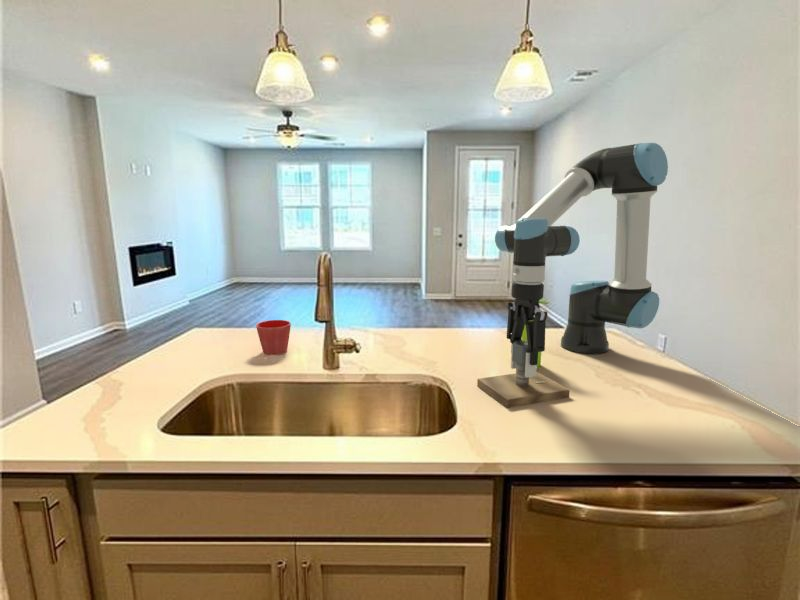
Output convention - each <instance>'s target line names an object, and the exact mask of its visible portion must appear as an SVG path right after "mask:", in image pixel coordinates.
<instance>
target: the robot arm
mask: <svg viewBox="0 0 800 600" xmlns="http://www.w3.org/2000/svg"><path fill="white" fill-rule="evenodd" d="M668 163H669V162H668V158H667V154H666V151H665V150H664V149H663V147H662V146H661V145H660V144H658V143H656V142H639V143H635V144H634V143H633V144H628V145H622V146H615V147H607V148H602V149H599V150H597V151H595V152H593V153H591V154H590V155H589V154H588V155H587V156H586V157H584V158H583V159H582V160H579V162H577V163H576V164H574V165H573V166H572V167H570V169H568V171H566V173H565V175H564V178H563V179H562V181H560V182H559V183H558V184H557V185H556V186H555V187H554V188H553V189H551V190H550V191H549V192H548V193H547V194H545V196H543V197H542V198H541V199H540V200H539V201H538V202H537V203H536V204H534V205H533V206H532V207H531V208H530V209H529V210H528V211H526V213H524V215H522V216H521V217H520V218H519V219H516V221H515V222H514V223H513V224H506V225H502V226H499V228H498V229H497V230H496V233H495V235H494V236H495V237H494V243H495V246H496V248H497V249H498V250H500V251H501V252H506V253H510V254H513V266H512V280H513V281H514V282H513V283H512V284H511V297H512V298H513V299H515V300H514V301H511V302H510V301H508V302H507V310H508V313H507V327H506V339H507V340H509V342H510V343H511V350H510V352H511V353H510V354H511V356H510V369H511V370H516V367H517V363H516V362H513V361H512V352H513V343H514V342H515V341H522V334H523V330H524V326H525V325H526V332H527V341H528V350H526V363H525V377H526V378H527V377H535V376H536V372H537V368H536V367H537V362H538V352H541V353H542V352H545V351H546V322H547V318H548V312H547V311H543V310H541V306H540V303H539V300H542V299H543V298H544V291H545V290H544V288H545V285H544V284H543V282H544V281H545V279H546V277H545V275H546V258H547V257H559V256H561V257H564V256H568V255H572V254H573V253H575V252H576V251H577V249H578V248H579V245H580V234H579V233H578V231H577V230H576V229H575V228H574V227H573V226H567V225H554V223H555V222H556V221H557V220H558V219H560V218H561V217H562V216H563V215H565V213H566V212H567V211H568V210H570V208H571V207H573V206H574V205H575V204H576V203H577V202H578V201H579V200H580V199H581V198H583V197H587V196H588V195H590V194H591V193H592V192H594V191H597V190H601V189H611V195H612V197H613V198H615V199H616V218H615V219H616V222H615V223H616V226H615V247H614V249H615V250H614V251H615V252H614V274H613V275H614V276H613V277H614V278H613V279H612V280H611V281H608V280H584V281H583V280H581V281H576V282H574V283H572V284H571V286H570V291H569V295H568V296H569V299H568V313H567V314H568V315H567V317H568V319H567V325H566V327H565V331H564V333H563V335H562V337H561V338H560V346H561V347H562V348H563V349H565V350H568V351H571V352H574V353H580V354H590V355H591V354H593V355H594V354H595V355H596V354H604V353H607V352H608V351H609V347H610V343H609V340H608V336H607V332H606V327H605V326H606V323H609V324H614V325H617V326H618V325H619V326H622V327H627V328H635V329H644V328H647V327H648V326H649V325H650V324H651V323H652V322H653V321H654V318H656V316H657V313H658V311H659V308H660V307H659V306H660V297H659V294H658V293H657V292H655V291H652V285H653V284H652V283H651V282H650V281H649V280H648V279H647V267H648V250H649V236H650V235H649V232H650V212H651V199H652V197H653V196H654V195H655V194H656V193H657V192H658V186H660V185H662V184H663V183H664V182H665V181H666V179H667V176H668V171H669V165H668ZM533 319H534V320H533ZM529 320H533V321H529Z"/></svg>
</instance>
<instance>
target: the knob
mask: <svg viewBox="0 0 800 600" xmlns="http://www.w3.org/2000/svg"><path fill="white" fill-rule="evenodd" d="M526 350H528V341H515V342H514V343H513V352H512V361H513V362H516V363H519V364H525V363H526Z"/></svg>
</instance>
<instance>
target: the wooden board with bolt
mask: <svg viewBox="0 0 800 600" xmlns="http://www.w3.org/2000/svg"><path fill="white" fill-rule="evenodd" d="M515 370H516V373H509V374H503V375H495V376H488V377H479V378H477V383H476V386H477V387H478V388H480V389H481V390H483V392H485V393H486V394H488V395H489V396H490V397H491V398H492V399H494V400H496V401H497V402H498V403H500V404H501V403H502V404H501V405H503V406H504V405H505V406H506V408H507V407H508V408H512V407H511V406H514V407H518V406H517V405H520V406H524V405H523V404H526V405H531V403H532V404H535V403H536V404H537V403H541V402H542V403H543V402H548V401H555V400H560V399H566V398H570V393H571V392H570V388H568V387H566V386H564V385H562V384H560V383H559V382H556V381H554V380H552V379H551V378H549V377H548V376H546V375H543V374H542V373H540V372H537V371H536V376H535V377H527V378H526V377H525V364H519V363H517V367H516V368H515ZM505 406H504V407H505Z"/></svg>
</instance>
